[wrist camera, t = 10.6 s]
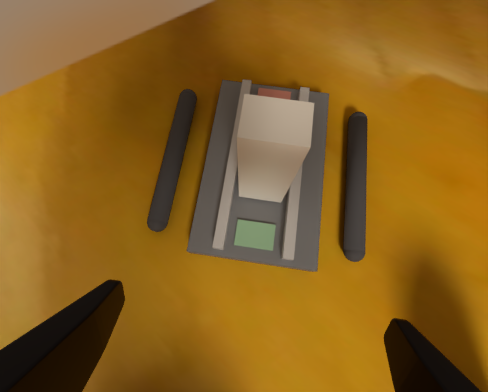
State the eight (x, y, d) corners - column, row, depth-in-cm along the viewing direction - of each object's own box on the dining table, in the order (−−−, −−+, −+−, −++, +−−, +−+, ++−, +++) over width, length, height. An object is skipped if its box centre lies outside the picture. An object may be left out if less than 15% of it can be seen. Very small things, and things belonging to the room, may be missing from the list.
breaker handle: (281, 202, 21) (310, 147, 12) (239, 196, 21) (236, 137, 12) (284, 174, 22) (314, 102, 13) (243, 169, 22) (244, 93, 13)
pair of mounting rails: (359, 263, 22) (368, 262, 20) (148, 231, 22) (141, 228, 21) (362, 119, 25) (370, 109, 24) (183, 95, 26) (179, 84, 25)
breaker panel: (312, 271, 21) (320, 270, 19) (190, 252, 22) (184, 249, 19) (324, 103, 26) (332, 86, 24) (223, 90, 26) (221, 71, 24)
